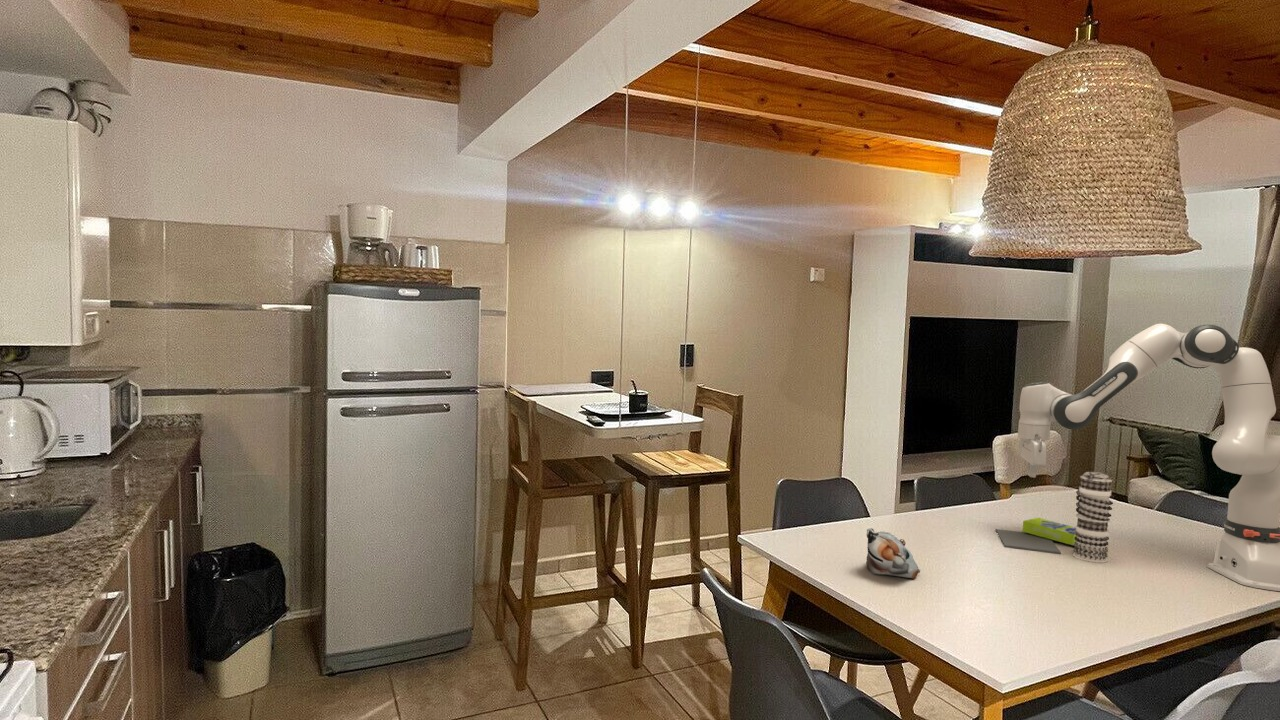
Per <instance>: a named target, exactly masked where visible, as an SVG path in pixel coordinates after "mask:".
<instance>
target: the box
mask: <svg viewBox="0 0 1280 720" xmlns="http://www.w3.org/2000/svg"><path fill="white" fill-rule="evenodd" d="M1021 532H1025V533H1029V534H1033V535H1036V536H1040V537H1044V538H1047V539H1051V540H1052V541H1055V542H1060V543H1063V544H1066V545H1071V546H1073V547H1075V546H1074V543H1075V542H1076V540H1075V538H1074V537H1076V536H1077V535H1075V532H1076V527H1075V526H1071V525H1068V524H1064V523H1060V522H1056V521H1053V520H1049V519H1045V518H1043V517H1042V518H1041V517H1035V518H1031V519H1030V518H1029V519H1027V520H1023V521H1022V531H1021Z"/></svg>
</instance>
